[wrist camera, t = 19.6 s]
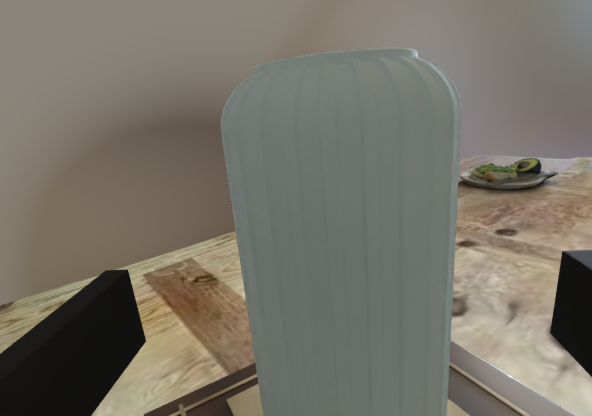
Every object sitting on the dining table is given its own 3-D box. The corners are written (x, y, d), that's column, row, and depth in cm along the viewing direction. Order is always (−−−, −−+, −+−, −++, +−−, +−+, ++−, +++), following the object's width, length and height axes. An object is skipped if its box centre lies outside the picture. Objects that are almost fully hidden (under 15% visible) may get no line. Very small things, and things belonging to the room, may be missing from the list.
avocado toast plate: (532, 198, 68) (535, 175, 67) (444, 186, 81) (445, 167, 80) (562, 177, 80) (565, 157, 78) (480, 170, 93) (482, 153, 92)
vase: (229, 446, 22) (158, 74, 16) (322, 341, 31) (301, 74, 25) (409, 572, 16) (416, 24, 9) (463, 393, 25) (486, 49, 18)
